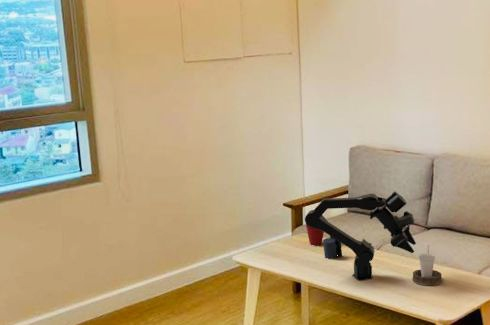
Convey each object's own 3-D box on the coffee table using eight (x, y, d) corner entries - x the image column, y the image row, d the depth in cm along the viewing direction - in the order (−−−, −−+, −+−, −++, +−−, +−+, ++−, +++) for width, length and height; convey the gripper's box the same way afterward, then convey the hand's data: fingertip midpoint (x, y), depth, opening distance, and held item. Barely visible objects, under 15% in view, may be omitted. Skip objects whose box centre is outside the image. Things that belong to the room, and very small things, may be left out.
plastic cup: (303, 247, 307) (303, 223, 305) (305, 241, 317) (304, 217, 315) (326, 247, 305) (325, 223, 303) (327, 241, 315) (326, 217, 313)
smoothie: (435, 282, 251) (435, 248, 249) (418, 281, 253) (419, 247, 251) (434, 276, 258) (434, 243, 255) (418, 275, 259) (418, 243, 257)
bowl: (422, 287, 248) (422, 280, 248) (406, 278, 259) (406, 271, 259) (448, 283, 251) (448, 276, 251) (431, 274, 262) (431, 267, 262)
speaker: (334, 253, 295) (333, 232, 292) (342, 256, 290) (341, 235, 287) (321, 257, 291) (320, 236, 289) (329, 261, 287) (327, 240, 284)
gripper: (400, 214, 244) (428, 244, 243) (404, 200, 261) (431, 228, 260) (379, 231, 248) (406, 261, 247) (384, 217, 265) (410, 244, 265)
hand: (414, 248), depth 255 cm, fingers open, 9 cm apart
